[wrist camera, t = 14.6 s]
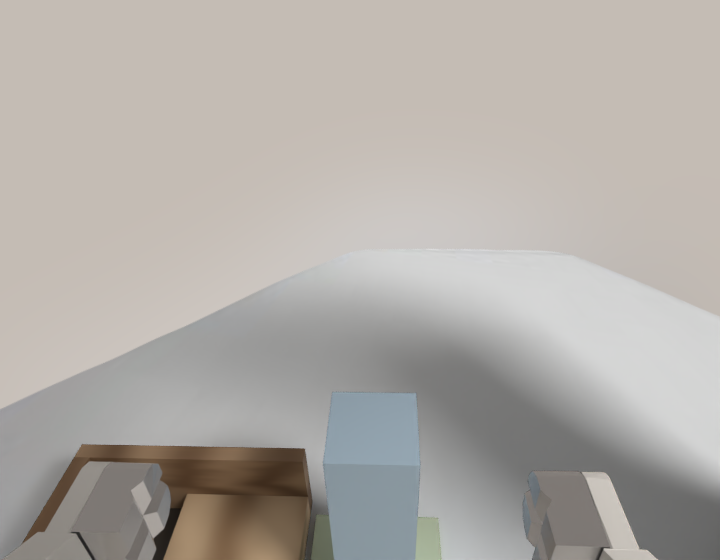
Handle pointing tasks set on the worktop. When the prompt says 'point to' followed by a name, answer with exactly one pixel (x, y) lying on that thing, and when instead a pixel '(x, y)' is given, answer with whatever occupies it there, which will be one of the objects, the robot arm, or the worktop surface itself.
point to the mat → (425, 540)
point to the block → (372, 475)
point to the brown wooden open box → (215, 499)
